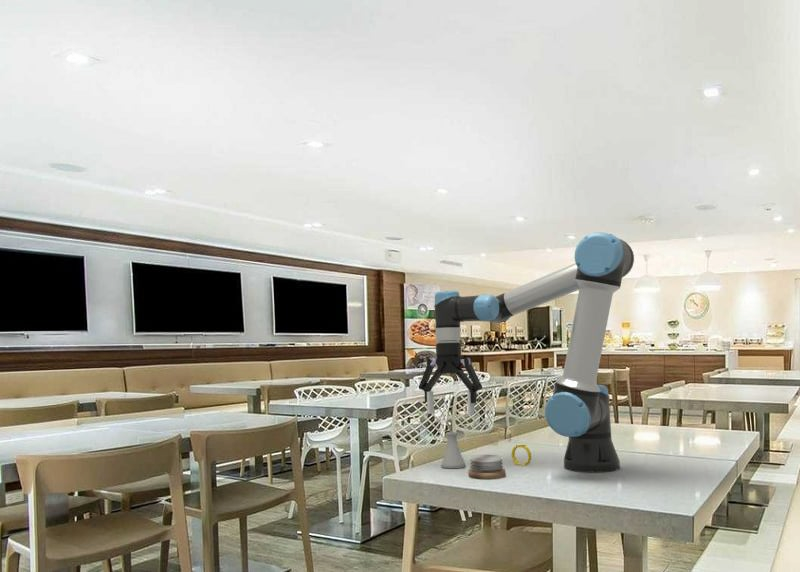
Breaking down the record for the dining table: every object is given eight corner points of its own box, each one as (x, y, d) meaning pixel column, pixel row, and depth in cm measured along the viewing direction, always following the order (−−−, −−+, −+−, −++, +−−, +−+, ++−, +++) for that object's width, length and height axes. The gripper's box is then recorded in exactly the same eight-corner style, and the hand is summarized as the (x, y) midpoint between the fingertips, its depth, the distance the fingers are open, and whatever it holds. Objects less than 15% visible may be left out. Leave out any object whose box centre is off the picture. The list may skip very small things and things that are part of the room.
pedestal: (511, 473, 177) (510, 455, 177) (496, 480, 168) (495, 461, 169) (478, 471, 182) (477, 453, 182) (462, 477, 173) (461, 458, 174)
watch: (511, 465, 191) (508, 445, 192) (516, 464, 194) (513, 443, 194) (529, 465, 188) (526, 444, 189) (533, 464, 190) (531, 443, 191)
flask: (464, 469, 186) (462, 433, 187) (439, 469, 188) (438, 434, 189) (466, 464, 193) (465, 430, 194) (442, 464, 195) (441, 431, 196)
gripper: (491, 341, 191) (494, 414, 189) (418, 343, 204) (420, 411, 202) (480, 341, 185) (483, 416, 182) (406, 343, 198) (408, 413, 196)
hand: (450, 414), depth 192 cm, fingers open, 13 cm apart
